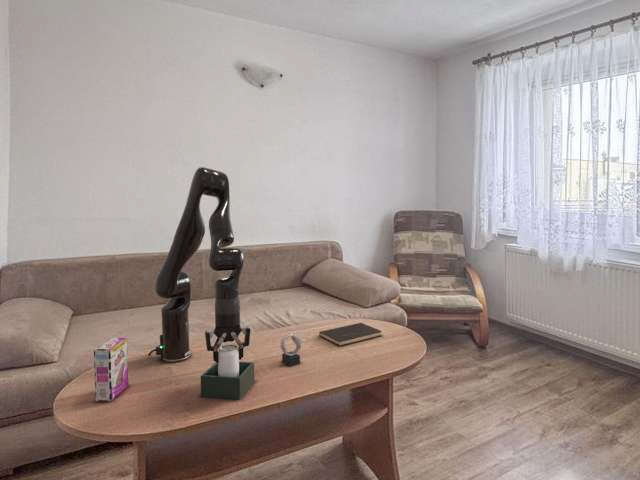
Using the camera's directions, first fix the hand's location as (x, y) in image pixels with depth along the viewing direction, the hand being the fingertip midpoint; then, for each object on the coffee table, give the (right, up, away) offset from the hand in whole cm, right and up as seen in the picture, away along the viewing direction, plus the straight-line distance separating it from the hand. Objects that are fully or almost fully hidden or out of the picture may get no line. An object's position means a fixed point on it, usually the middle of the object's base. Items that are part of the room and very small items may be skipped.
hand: (228, 360), depth 141 cm
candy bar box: (-35, -10, -4) cm, 36 cm away
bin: (0, -10, +1) cm, 10 cm away
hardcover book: (+36, -4, +55) cm, 66 cm away
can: (0, -8, +1) cm, 8 cm away
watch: (+16, -7, +24) cm, 29 cm away
